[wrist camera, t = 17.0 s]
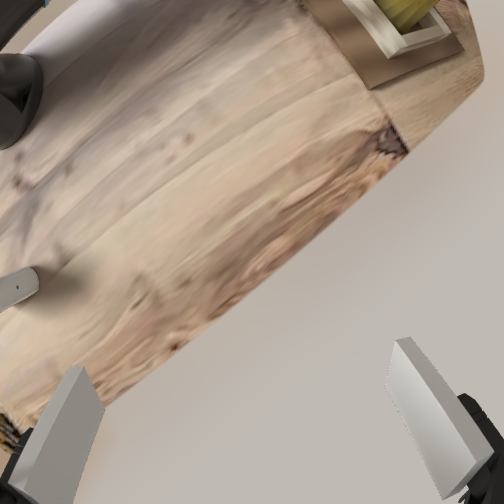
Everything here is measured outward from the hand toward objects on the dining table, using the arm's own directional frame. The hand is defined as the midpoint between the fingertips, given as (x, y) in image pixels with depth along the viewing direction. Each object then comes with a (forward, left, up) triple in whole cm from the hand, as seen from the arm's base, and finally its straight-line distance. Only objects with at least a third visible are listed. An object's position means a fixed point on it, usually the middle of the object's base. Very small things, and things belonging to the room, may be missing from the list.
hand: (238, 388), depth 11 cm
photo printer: (-14, -31, -25) cm, 42 cm away
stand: (-18, +34, -24) cm, 45 cm away
